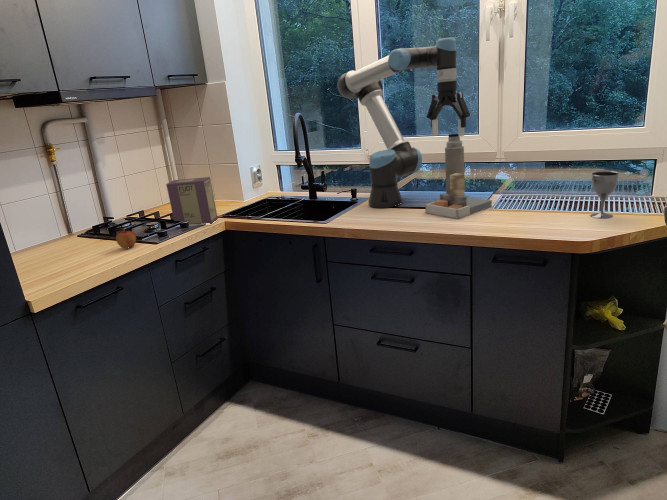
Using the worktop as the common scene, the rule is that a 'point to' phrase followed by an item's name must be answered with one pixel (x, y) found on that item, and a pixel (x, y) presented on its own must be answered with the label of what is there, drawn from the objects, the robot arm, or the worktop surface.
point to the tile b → (455, 206)
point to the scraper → (456, 190)
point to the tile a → (441, 203)
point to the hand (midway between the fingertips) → (448, 135)
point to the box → (192, 200)
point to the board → (477, 204)
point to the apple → (126, 239)
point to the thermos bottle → (453, 158)
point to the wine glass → (604, 189)
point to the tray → (447, 211)
